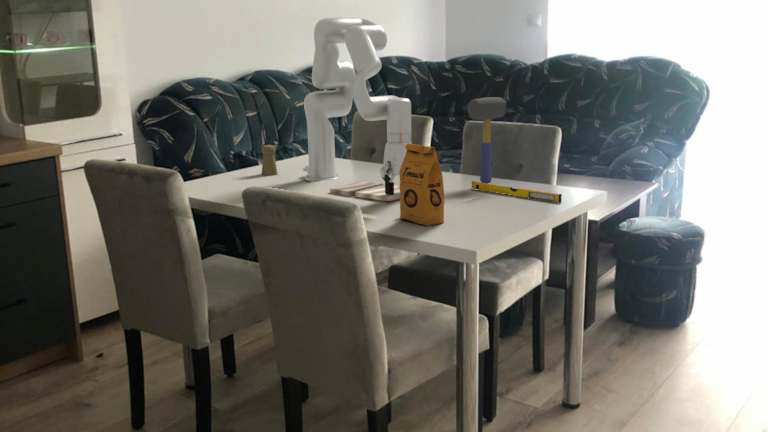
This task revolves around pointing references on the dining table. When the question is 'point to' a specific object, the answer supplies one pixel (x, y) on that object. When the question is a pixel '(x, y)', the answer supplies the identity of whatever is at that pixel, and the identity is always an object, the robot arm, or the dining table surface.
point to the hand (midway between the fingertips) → (399, 191)
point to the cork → (269, 161)
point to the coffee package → (421, 186)
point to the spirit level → (517, 191)
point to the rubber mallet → (486, 128)
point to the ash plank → (379, 193)
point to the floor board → (358, 186)
